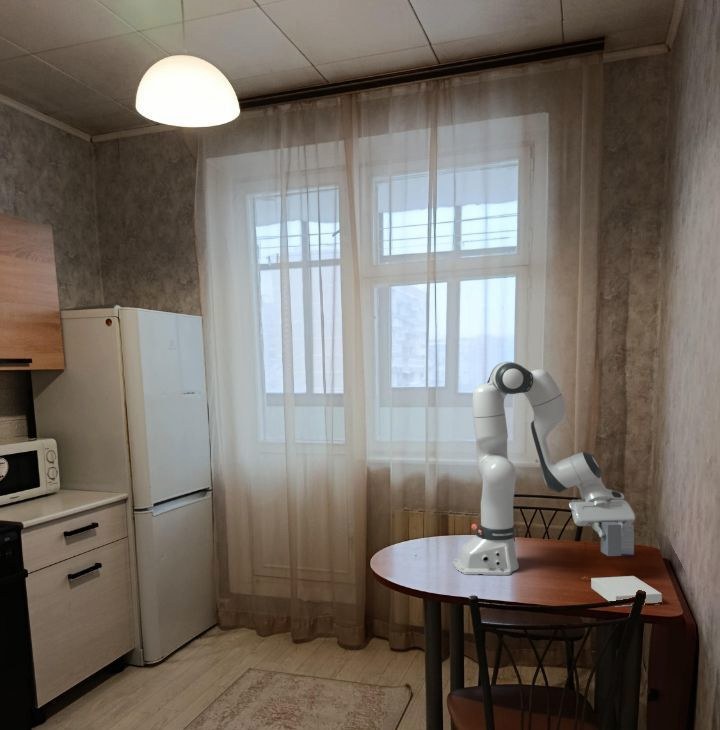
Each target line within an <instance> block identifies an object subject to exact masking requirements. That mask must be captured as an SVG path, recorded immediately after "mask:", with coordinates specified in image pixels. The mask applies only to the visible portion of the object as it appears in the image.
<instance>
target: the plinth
mask: <svg viewBox="0 0 720 730" xmlns="http://www.w3.org/2000/svg"><path fill="white" fill-rule="evenodd" d="M590 580H591V581H590V585H591V586H590V588H591V589H592V590H593V591H594V592H596V593H597V594H599V595H600V596H601V597H603V598H604V599H605V600H607V601H608V602H609V601H616V600H623V599H629V598H632V597H635V595H636V592H637V591H638V590H642V591H645V592H646V599H645V603H658V602H662V603H663V593H661V591H658V590H657V589H655V588H653V587H652V586H650V585H648V584H647V583H645V582H644V581H642V580H641V579H639V578H638V577H636V576H634V575H627V576H626V575H623V576H610V577H609V576H607V577H591V578H590ZM645 603H644V605H643V606H646V605H645ZM615 607H616V608H619V607H633V606H632V604H631V605H622V606H615Z"/></svg>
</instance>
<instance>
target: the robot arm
mask: <svg viewBox="0 0 720 730" xmlns="http://www.w3.org/2000/svg"><path fill="white" fill-rule="evenodd" d="M508 394H509V395H516V394H517V395H518V394H523V395H525V397H526V398H527V400H528V403H529V404H530V407H531V409H532V410H533V420H532V421H531V423H530V429H531V434H532V437H533V441H534V445H535V449H536V453H537V456H538V460H539V462H540V466H541V471H542V477H543V482H544V483H545V486H546V487H547V488H548V489H549V490H550V491H553V492H556V493H562V492H564V491H566V490H568V489H570V488H572V487H577V489H579V496H580V497H581V498H579V499H571V500H570V501H568V506H569V509H570V510H571V514H572V518H573V519H572V520H573V521H574V524H575V525H576V526H578V527H592V529H593V530H594V531H595V532H597V534H598V536H599V538H601V537H605V536H606V533H605V531H604V530H602V529H601V522H605V521H615V522H617V523H619V524H621V537H622V536H623V532H622V525H631V524H634V522H635V520H636V514H635V512H634V511H633V509H632V507H631V505H630V503H629V502H627V501H626V499H625V495H624V494H623V493H622V492H619V491H615V490H612V489H610V488H606V486H605V484H604V483H603V481H602V473H603V472H602V470H601V468H600V466H599V463H598V461H597V458H596V457H595V456H594V455H593V454H591V453H589V452H586V451H582V452H578V453H575V454H573V455H570V456H569V457H566V458H562V459H561V460H558V461H553V460H552V457H551V453H550V452H551V451H550V450H549V449H550V448H549V446H548V443H547V438H548V436H549V435H550V433H551V432H552V431H553V430H554V429H555V428H557V426H558V425H559V424H560V423H561V422H562V421H563V420H564V418H565V416H566V415H567V412H568V405H567V402H566V400H565V397H564V395H563V394H562V390H561V389H560V387H559V386H558V384H557V382H556V381H555V379H554V378H553V377H552V375H551V374H550V373H549V372H548V371H547V370H545V369H541V368H540V369H539V368H537V369H534V370H531V371H529V370H528V369H527V368H525V367H524V366H523V365H520V364H518V363H515V362H512V361H503V362H500V363H499V364H497V365H495V366H494V368H493V369H492V370H491V373H490V375H489V377H488V379H487V383H483V384H479V385H478V386H476V387H475V388H474V390H473V391H472V402H471V404H472V406H471V407H472V408H471V409H472V416H473V417H472V418H473V424H474V426H473V427H474V434H475V447H476V449H475V452H476V466H477V467H476V468H477V472H478V474H479V476H480V477H481V478H482V490H481V499H480V524H479V525H477V524H476V523H473V524H472V525H471V529H472V530H473V531H474V532H475V535H474V536H473V537H471V538H470V539H469V540H467V541H466V542H465V543H463V544H462V546H461V548H460V550H459V557H456V558H454V559H453V563H452V564H454V565H453V567H454V566H455V567H456V568H455V567H454V568H455V569H456V570H457V571H458V570H459V571H458V572H459V573H461V572H462V573H461V574H464V575H478V574H483V575H484V576H485V575H488V576H491V575H494V576H510V575H511V574H512V573H513V572H515V571H517V570H519V568H520V563H519V561H518V558H517V552H516V546H515V542H516V530H515V527H516V526H515V525H514V497H515V492H516V491H515V489H516V481H517V471H516V467H515V465H514V464H513V462H512V461H511V460H509V457H508V438H509V434H508V426H507V419H506V417H507V416H506V411H505V410H506V409H505V398H506V397H507V395H508Z"/></svg>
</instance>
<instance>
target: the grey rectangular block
mask: <svg viewBox="0 0 720 730" xmlns="http://www.w3.org/2000/svg"><path fill="white" fill-rule="evenodd" d="M600 528H601V529H602V530H604V531H605V533H606V536H605V537H600V553H602V554H603V555H606V556H607V557H621V556H622V555H621V524H619V523H617V522H615V521H605V522H601V526H600Z"/></svg>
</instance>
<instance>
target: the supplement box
mask: <svg viewBox="0 0 720 730" xmlns="http://www.w3.org/2000/svg"><path fill="white" fill-rule="evenodd" d="M634 530H635V525H634V523H632V524H631V525H622V532H623V536H622V537H621V556H624V557H630V556H631V557H634V555H635V531H634Z"/></svg>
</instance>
